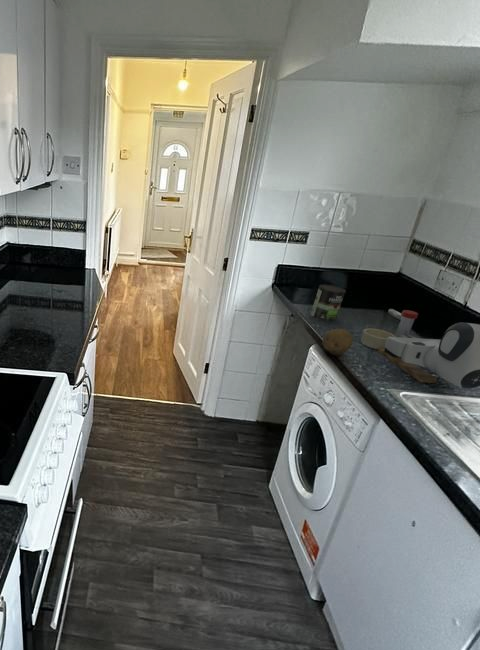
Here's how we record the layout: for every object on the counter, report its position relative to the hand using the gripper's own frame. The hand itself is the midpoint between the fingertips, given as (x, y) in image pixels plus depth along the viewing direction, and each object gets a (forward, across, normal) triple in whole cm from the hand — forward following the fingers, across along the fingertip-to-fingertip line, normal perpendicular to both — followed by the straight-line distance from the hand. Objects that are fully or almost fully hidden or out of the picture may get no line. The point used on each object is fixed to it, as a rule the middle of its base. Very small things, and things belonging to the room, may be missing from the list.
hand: (404, 337), depth 142 cm
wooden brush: (-4, 0, +9) cm, 10 cm away
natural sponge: (+2, +22, +9) cm, 24 cm away
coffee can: (+40, +7, +9) cm, 41 cm away
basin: (+12, 0, +9) cm, 15 cm away
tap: (+5, 0, +8) cm, 9 cm away
